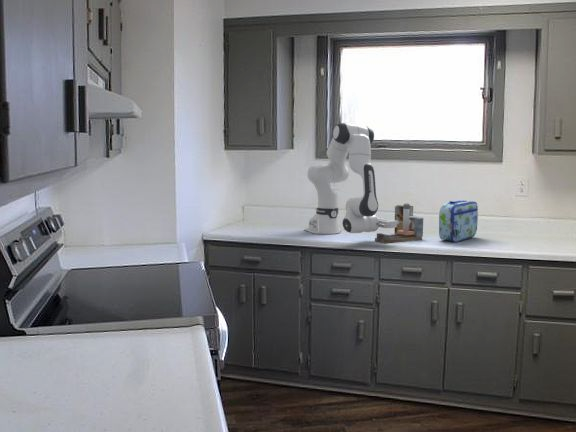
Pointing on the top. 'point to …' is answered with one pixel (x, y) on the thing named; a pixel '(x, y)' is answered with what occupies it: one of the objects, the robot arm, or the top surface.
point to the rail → (414, 225)
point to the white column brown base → (406, 221)
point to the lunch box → (458, 220)
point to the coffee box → (400, 216)
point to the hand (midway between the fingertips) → (391, 221)
